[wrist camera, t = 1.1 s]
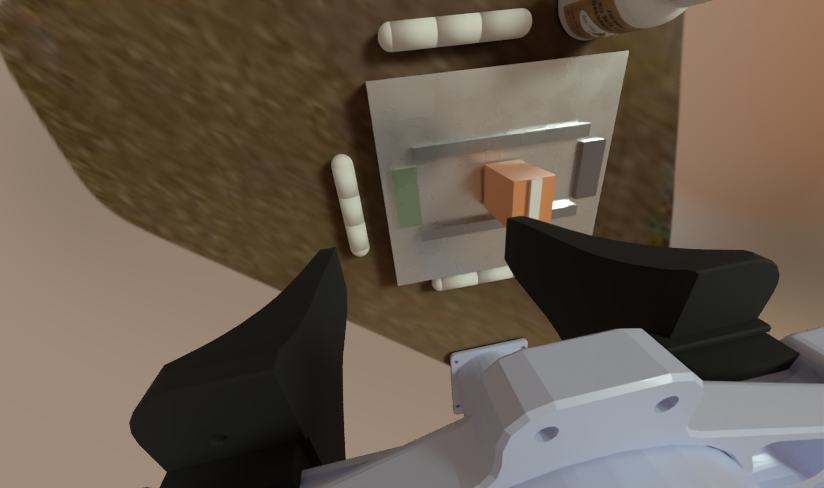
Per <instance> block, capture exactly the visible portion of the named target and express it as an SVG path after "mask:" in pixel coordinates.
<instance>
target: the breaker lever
mask: <svg viewBox="0 0 824 488" xmlns="http://www.w3.org/2000/svg"><path fill="white" fill-rule="evenodd" d="M555 183H556V175H555V174H552V173H550V172H548V171H545V170H543V169H541V168H538V167H536V166H534V165H531V164H529V163H527V162H524V161H522V160H520V159H518V160H511V161H504V162H498V163H491V164H484V208H485V209H486V210H488V211H489V212H490V213H491V214H492V215H493V216H494V217H495V218H496V219H497V220H498V221H499V222H500V223H502V224H503V225H504V226H505V227H506V223H507V218H510V217H516V216H525V217H529V218H533V219H537V220H540V221H543V222H547V223H551V215H552V207H553V199H554V191H555Z"/></svg>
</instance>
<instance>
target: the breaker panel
mask: <svg viewBox="0 0 824 488" xmlns="http://www.w3.org/2000/svg"><path fill="white" fill-rule="evenodd" d="M628 54H629V51H620V52H612V53H604V54H595V55H587V56H578V57H570V58H561V59H553V60H545V61H536V62H528V63H519V64H511V65H502V66H494V67H485V68H477V69H469V70H460V71H452V72H443V73H435V74H426V75H418V76H410V77H401V78H393V79H384V80H376V81H367V82H365V85H366V91H367V98H368V104H369V110H370V116H371V123H372V129H373V135H374V142H375V148H376V154H377V160H378V167H379V173H380V179H381V186H382V192H383V198H384V204H385V211H386V217H387V223H388V230H389V236H390V242H391V248H392V255H393V261H394V267H395V274H396V279H397V284H398V286H401V285H406V284H412V283H417V282H422V281H428V280H433V279H439V278H444V277H449V276H455V275H460V274H466V273H471V272H476V271H482V270H487V269H493V268H498V267H504V266H508V265H507V263H506V261H505V259H504V256H505V239H506V227H505V226H504V225H503V224H502V223H500V222H499V221H498V220H497V219H496V218H495V217H494V216H493V215H492V214H491V213H490V212H489V211H488V210H486V209H485V208H484V164H491V163H498V162H504V161H511V160H518V159H520V160H522V161H524V162H527V163H529V164H531V165H534V166H536V167H538V168H541V169H543V170H545V171H548V172H550V173H552V174H555V175H556V183H555V191H554V199H553V207H552V215H551V223H550V224H553V225H556V226H560V227H563V228H566V229H569V230H573V231H576V232H580V233H584V234H588V235H592V233H593V228H594V223H595V218H596V213H597V208H598V203H599V198H600V193H601V188H602V183H603V178H604V173H605V168H606V163H607V158H608V153H609V149H610V144H611V139H612V134H613V129H614V124H615V119H616V114H617V109H618V104H619V99H620V94H621V89H622V84H623V79H624V74H625V69H626V64H627V59H628Z"/></svg>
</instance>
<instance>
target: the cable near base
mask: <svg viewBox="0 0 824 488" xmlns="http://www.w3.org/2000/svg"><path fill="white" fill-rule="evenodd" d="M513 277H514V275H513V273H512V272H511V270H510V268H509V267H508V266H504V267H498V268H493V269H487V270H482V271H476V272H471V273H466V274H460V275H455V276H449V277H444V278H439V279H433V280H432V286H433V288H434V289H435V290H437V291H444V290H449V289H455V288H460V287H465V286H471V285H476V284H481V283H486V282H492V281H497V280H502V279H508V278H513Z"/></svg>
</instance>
